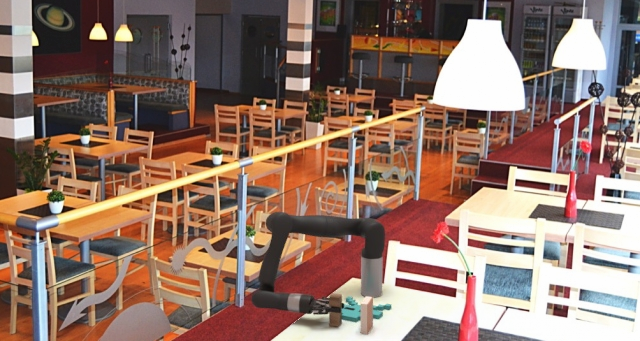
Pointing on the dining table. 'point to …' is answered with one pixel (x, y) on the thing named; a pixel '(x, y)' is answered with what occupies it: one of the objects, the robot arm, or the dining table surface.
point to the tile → (366, 314)
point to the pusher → (334, 318)
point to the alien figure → (354, 310)
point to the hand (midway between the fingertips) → (342, 307)
